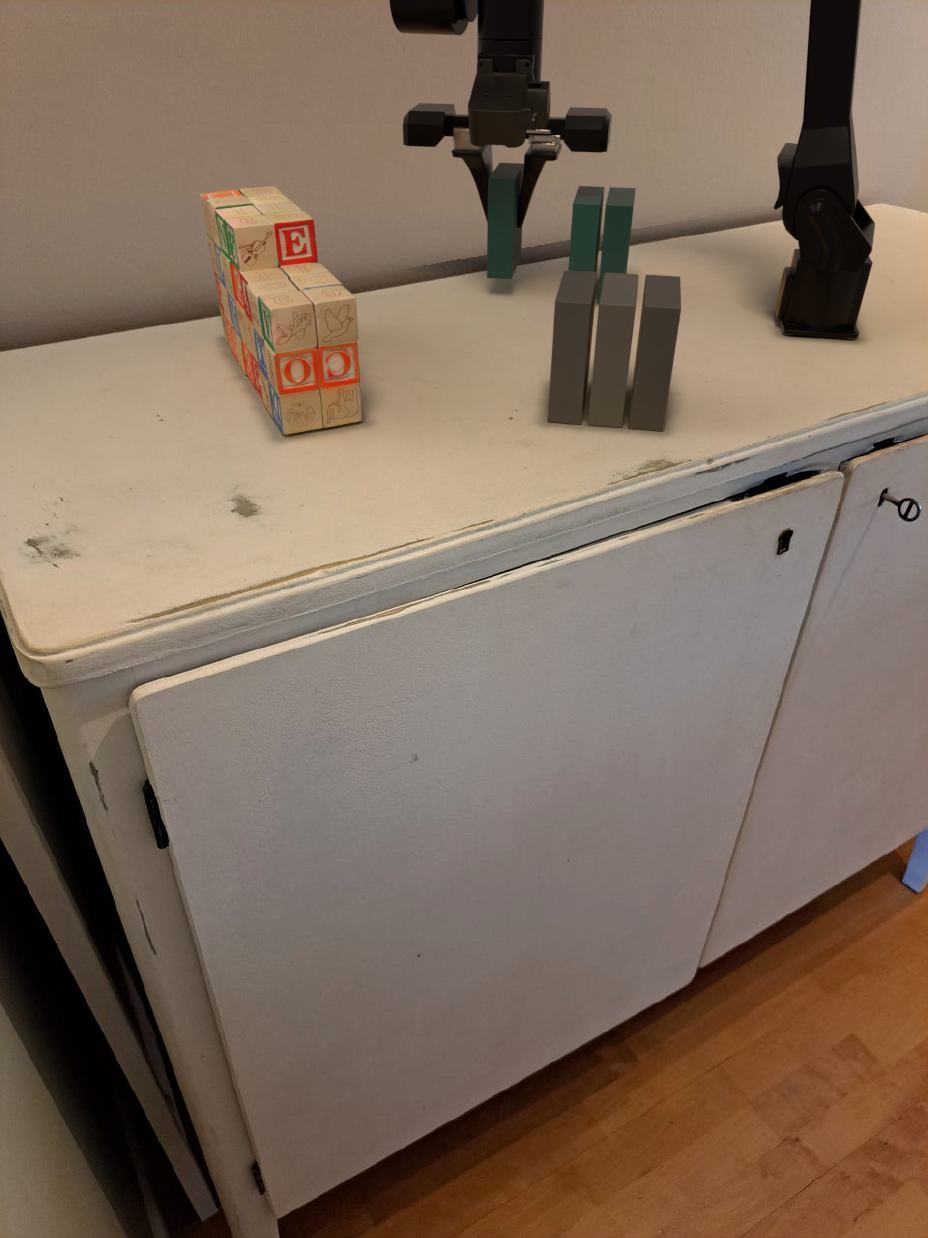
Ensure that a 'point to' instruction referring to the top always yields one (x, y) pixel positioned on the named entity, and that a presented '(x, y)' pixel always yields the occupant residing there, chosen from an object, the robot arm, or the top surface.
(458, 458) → the top surface
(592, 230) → the teal books
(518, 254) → the teal book
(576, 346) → the grey books
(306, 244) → the stack of blocks
